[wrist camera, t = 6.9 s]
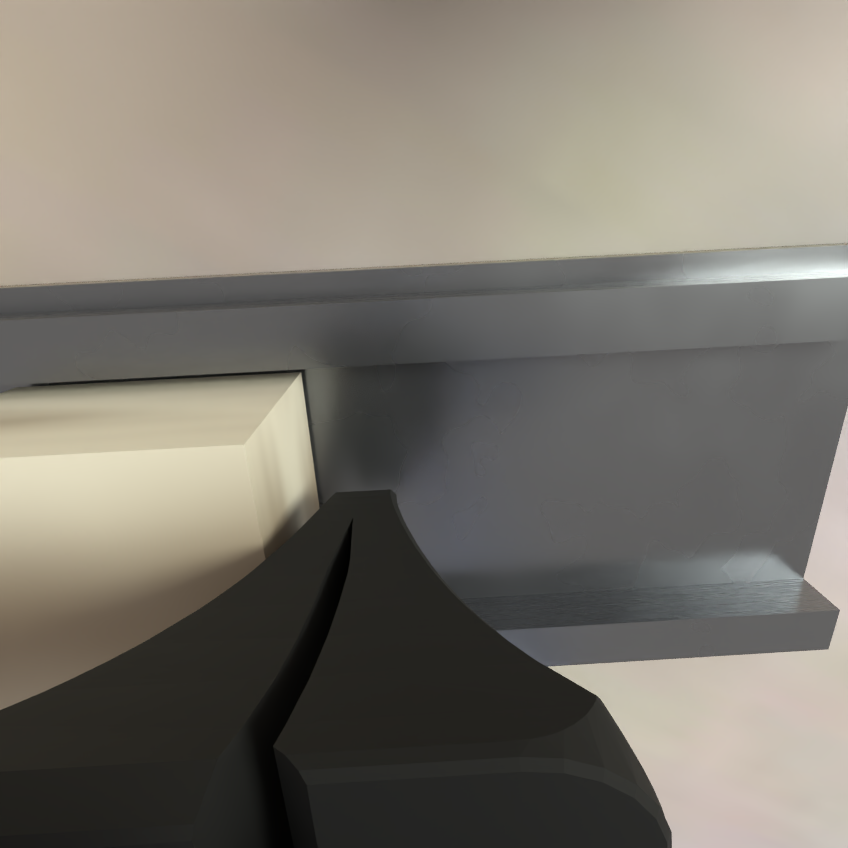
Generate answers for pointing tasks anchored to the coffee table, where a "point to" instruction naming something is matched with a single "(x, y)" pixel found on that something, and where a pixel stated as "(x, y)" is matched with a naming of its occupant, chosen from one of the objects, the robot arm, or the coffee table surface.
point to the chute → (534, 422)
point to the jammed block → (137, 510)
